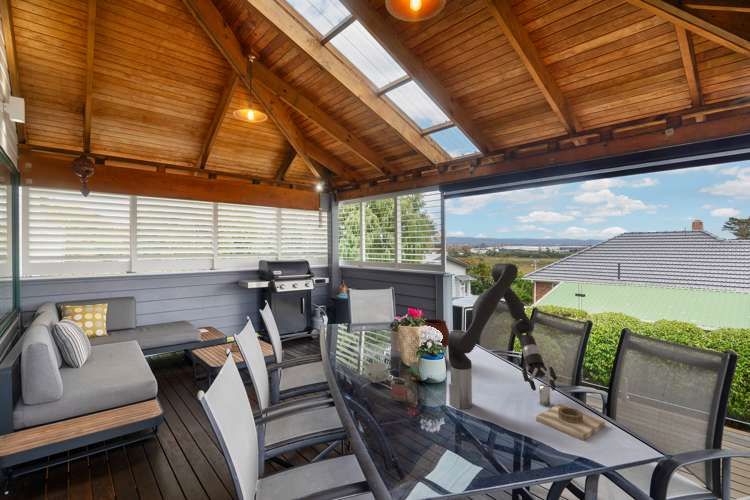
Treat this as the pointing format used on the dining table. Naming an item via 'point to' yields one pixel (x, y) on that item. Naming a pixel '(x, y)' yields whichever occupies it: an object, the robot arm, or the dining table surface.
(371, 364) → the grey spiky lump
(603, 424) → the wooden board with ring
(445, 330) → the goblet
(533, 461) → the dining table surface
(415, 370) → the food container
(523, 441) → the dining table surface
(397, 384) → the lighter
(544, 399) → the roller
